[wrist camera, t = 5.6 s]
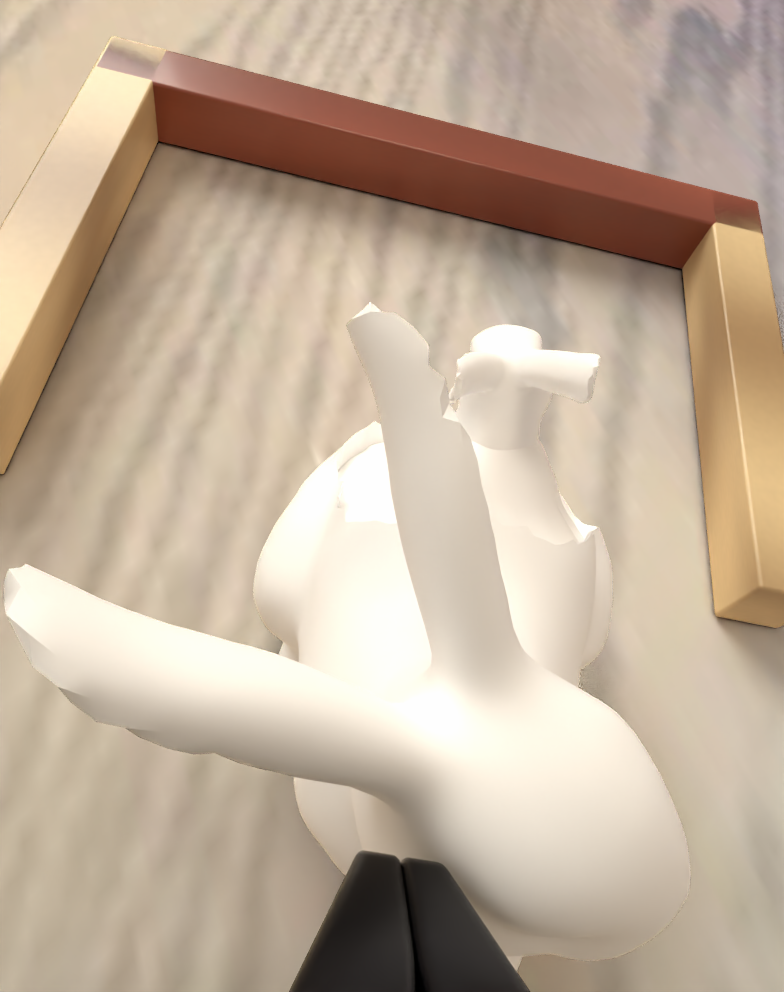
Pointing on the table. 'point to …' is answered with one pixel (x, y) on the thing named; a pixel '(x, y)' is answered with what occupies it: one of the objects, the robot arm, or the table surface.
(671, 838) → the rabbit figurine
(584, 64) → the table surface
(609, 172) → the bay
